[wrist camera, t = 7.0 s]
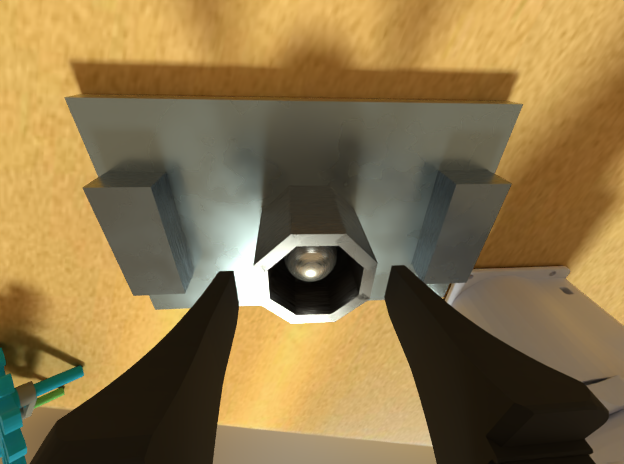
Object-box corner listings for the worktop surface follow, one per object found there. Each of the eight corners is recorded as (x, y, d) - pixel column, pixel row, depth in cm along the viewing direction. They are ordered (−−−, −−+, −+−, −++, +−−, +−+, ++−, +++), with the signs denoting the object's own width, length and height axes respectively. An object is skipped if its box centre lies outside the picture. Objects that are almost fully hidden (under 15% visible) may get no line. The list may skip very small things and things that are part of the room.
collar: (358, 185, 16) (384, 232, 12) (348, 261, 19) (365, 320, 15) (259, 184, 15) (249, 234, 11) (265, 263, 18) (258, 324, 14)
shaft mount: (507, 100, 15) (607, 122, 10) (436, 286, 23) (476, 347, 18) (81, 94, 13) (-31, 116, 9) (161, 297, 21) (125, 367, 16)
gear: (-37, 323, 19) (-1, 474, 16) (73, 297, 24) (115, 408, 21) (-34, 377, 24) (-7, 495, 22) (55, 347, 29) (86, 440, 26)
